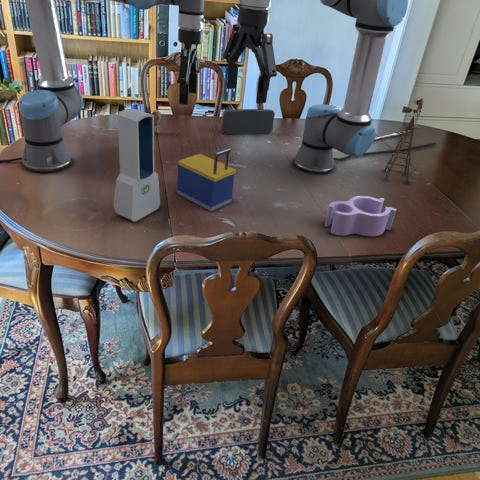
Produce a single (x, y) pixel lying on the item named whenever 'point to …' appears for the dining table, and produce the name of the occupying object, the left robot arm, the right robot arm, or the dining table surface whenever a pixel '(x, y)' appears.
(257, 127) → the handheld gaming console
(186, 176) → the chest
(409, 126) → the miniature windmill
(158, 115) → the lion figurine
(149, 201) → the electronic device
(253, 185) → the dining table surface
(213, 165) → the lid
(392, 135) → the sword
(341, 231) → the clip
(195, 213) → the dining table surface
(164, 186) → the dining table surface
